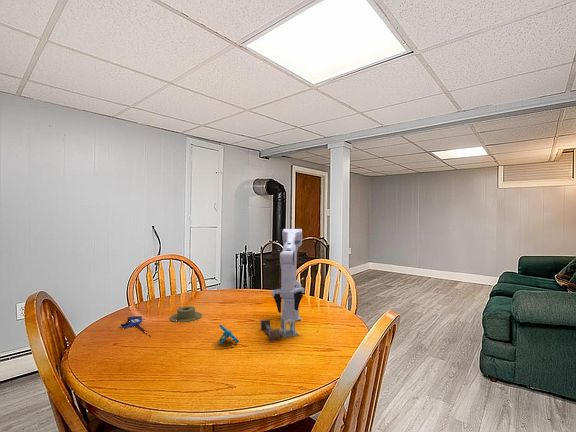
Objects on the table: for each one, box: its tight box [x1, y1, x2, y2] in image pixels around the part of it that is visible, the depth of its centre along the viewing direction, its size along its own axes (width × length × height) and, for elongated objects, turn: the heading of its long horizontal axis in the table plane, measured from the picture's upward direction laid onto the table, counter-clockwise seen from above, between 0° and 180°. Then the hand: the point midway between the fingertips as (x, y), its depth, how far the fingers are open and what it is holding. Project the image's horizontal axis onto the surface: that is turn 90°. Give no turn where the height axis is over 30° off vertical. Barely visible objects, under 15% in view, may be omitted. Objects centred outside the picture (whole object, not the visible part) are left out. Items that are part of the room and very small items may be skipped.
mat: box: [279, 328, 299, 339], centre depth 129 cm, size 7×7×1 cm
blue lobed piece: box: [219, 323, 240, 345], centre depth 119 cm, size 11×6×10 cm
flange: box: [169, 305, 203, 323], centre depth 149 cm, size 5×15×15 cm
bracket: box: [280, 316, 296, 335], centre depth 129 cm, size 4×5×6 cm
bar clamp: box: [120, 315, 148, 332], centre depth 132 cm, size 32×2×10 cm
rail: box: [259, 318, 281, 342], centre depth 128 cm, size 14×4×4 cm, turn 21°
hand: (287, 310), depth 129 cm, fingers open, 7 cm apart
